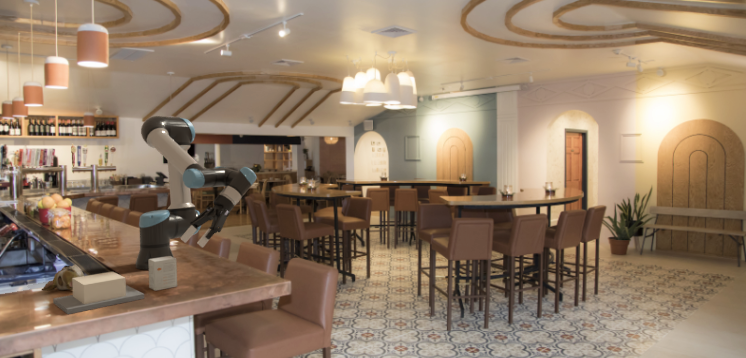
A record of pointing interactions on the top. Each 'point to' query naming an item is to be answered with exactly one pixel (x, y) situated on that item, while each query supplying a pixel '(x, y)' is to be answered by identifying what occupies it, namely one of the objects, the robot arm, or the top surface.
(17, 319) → the top surface
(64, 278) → the ceramic sculpture
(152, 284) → the small box
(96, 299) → the pedestal
